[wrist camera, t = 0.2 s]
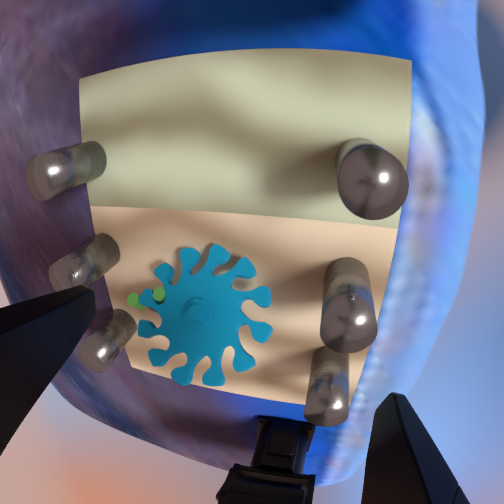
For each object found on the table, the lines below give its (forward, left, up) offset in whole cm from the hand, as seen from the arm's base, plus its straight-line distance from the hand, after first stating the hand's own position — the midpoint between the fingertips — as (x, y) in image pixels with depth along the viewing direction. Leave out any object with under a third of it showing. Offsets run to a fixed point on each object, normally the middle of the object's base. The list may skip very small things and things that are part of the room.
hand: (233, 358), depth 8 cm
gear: (-7, +6, -14) cm, 17 cm away
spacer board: (-5, +5, -14) cm, 16 cm away
